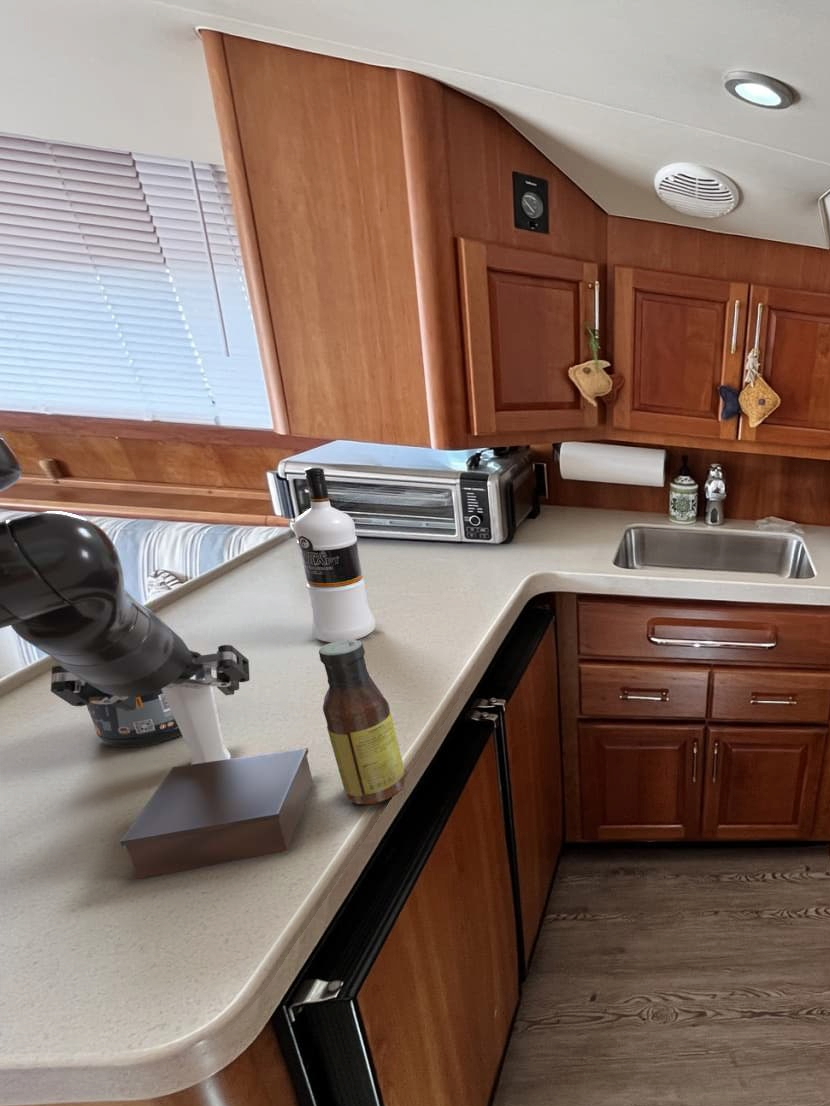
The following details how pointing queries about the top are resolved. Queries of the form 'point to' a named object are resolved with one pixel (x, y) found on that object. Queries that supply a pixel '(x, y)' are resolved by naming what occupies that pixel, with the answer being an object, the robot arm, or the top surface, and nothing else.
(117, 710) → the supplement container
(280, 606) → the top surface
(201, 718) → the white faceted vase
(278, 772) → the box
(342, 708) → the sauce bottle
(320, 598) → the vodka
